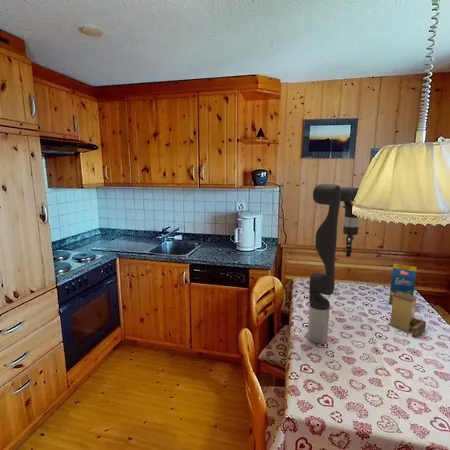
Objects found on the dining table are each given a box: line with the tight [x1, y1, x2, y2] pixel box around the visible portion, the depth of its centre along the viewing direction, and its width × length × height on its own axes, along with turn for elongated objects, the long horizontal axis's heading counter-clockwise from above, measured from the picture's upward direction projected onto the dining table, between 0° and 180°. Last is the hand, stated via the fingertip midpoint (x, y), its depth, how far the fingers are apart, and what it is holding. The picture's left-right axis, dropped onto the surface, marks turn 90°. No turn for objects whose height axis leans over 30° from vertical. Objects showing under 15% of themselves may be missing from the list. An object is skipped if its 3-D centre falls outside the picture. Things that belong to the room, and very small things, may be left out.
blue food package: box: [388, 263, 418, 305], centre depth 182 cm, size 6×12×25 cm, turn 56°
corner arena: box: [411, 316, 427, 339], centre depth 157 cm, size 16×12×5 cm
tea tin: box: [389, 292, 417, 332], centre depth 157 cm, size 9×5×17 cm, turn 36°
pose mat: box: [387, 322, 413, 334], centre depth 159 cm, size 11×7×1 cm, turn 36°
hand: (348, 254), depth 164 cm, fingers open, 8 cm apart
